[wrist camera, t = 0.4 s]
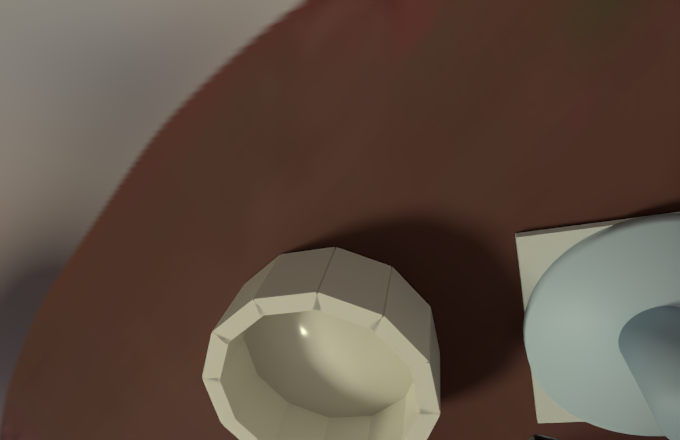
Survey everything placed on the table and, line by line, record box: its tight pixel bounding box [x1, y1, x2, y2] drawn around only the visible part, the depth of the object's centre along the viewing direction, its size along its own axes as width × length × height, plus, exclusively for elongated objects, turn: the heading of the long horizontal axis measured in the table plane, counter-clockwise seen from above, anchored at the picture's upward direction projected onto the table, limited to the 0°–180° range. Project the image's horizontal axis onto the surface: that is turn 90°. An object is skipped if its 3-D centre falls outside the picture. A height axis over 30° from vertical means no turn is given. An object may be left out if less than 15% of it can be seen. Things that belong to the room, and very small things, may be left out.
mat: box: [515, 212, 680, 423], centre depth 21 cm, size 10×10×1 cm
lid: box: [523, 213, 680, 440], centre depth 18 cm, size 10×10×5 cm
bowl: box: [202, 247, 440, 440], centre depth 23 cm, size 10×10×4 cm
